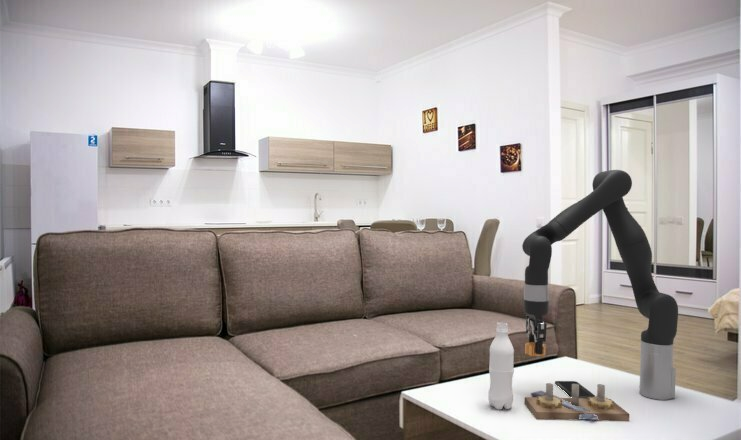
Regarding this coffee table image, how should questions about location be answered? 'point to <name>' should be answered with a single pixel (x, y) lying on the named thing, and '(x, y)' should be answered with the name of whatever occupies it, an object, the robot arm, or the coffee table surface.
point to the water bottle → (501, 369)
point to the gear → (533, 349)
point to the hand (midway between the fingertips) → (535, 351)
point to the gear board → (574, 413)
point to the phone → (568, 388)
